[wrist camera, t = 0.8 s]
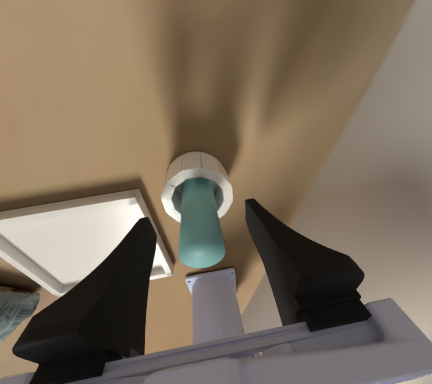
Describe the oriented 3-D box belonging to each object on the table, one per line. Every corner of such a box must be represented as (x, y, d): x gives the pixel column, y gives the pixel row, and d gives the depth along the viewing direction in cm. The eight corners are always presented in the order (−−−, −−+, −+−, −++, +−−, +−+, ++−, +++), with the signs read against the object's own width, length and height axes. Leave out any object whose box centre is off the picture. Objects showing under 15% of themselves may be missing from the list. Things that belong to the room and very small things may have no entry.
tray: (173, 265, 25) (172, 275, 24) (64, 286, 25) (57, 297, 24) (138, 188, 17) (134, 197, 16) (-25, 215, 17) (-42, 226, 16)
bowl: (227, 197, 20) (234, 218, 17) (175, 206, 19) (172, 229, 16) (222, 146, 16) (230, 162, 13) (159, 156, 16) (152, 175, 13)
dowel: (212, 190, 18) (227, 263, 11) (186, 195, 18) (184, 271, 11) (208, 167, 16) (223, 234, 10) (179, 172, 16) (173, 243, 9)
